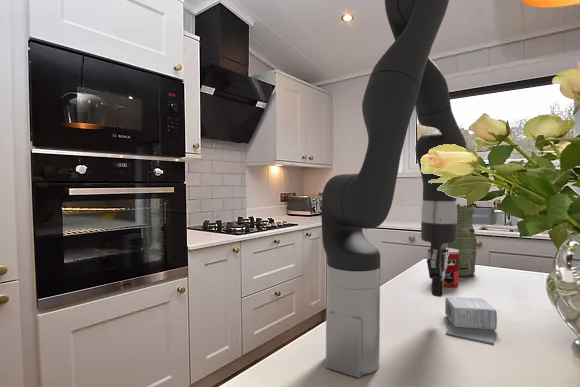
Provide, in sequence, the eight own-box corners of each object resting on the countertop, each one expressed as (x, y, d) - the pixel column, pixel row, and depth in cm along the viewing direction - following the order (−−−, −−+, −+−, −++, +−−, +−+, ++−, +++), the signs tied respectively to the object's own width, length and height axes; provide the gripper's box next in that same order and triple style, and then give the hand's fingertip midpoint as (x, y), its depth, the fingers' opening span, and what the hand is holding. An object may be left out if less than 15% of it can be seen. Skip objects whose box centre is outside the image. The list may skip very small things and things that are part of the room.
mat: (493, 344, 68) (493, 343, 68) (446, 334, 72) (446, 333, 72) (495, 320, 80) (495, 319, 80) (454, 313, 84) (454, 312, 84)
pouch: (439, 274, 120) (440, 203, 120) (443, 267, 130) (444, 201, 130) (475, 279, 115) (476, 204, 114) (476, 271, 125) (477, 202, 124)
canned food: (427, 283, 109) (427, 249, 109) (438, 279, 115) (439, 246, 114) (452, 289, 104) (452, 253, 103) (462, 284, 109) (463, 249, 109)
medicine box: (453, 327, 75) (497, 331, 73) (454, 307, 75) (497, 310, 73) (444, 314, 83) (484, 317, 81) (445, 295, 83) (484, 298, 81)
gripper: (452, 224, 71) (451, 307, 72) (460, 219, 82) (459, 291, 83) (415, 222, 75) (413, 300, 76) (427, 217, 86) (426, 285, 87)
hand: (437, 295), depth 79 cm, fingers closed
